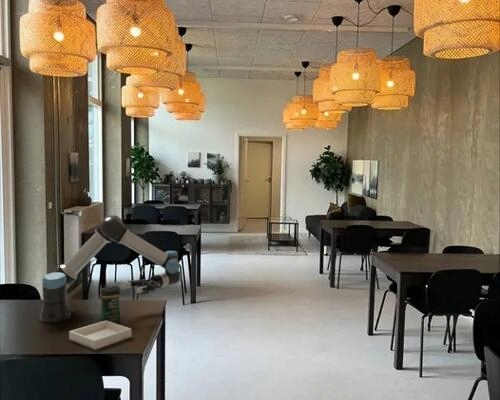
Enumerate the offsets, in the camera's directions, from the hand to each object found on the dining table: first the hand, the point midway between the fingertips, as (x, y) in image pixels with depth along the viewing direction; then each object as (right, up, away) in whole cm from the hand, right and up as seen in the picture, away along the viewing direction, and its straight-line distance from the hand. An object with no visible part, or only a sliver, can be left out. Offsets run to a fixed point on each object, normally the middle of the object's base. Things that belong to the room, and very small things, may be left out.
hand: (128, 288), depth 250 cm
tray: (-5, -17, -31) cm, 36 cm away
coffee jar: (-7, -16, -8) cm, 19 cm away
